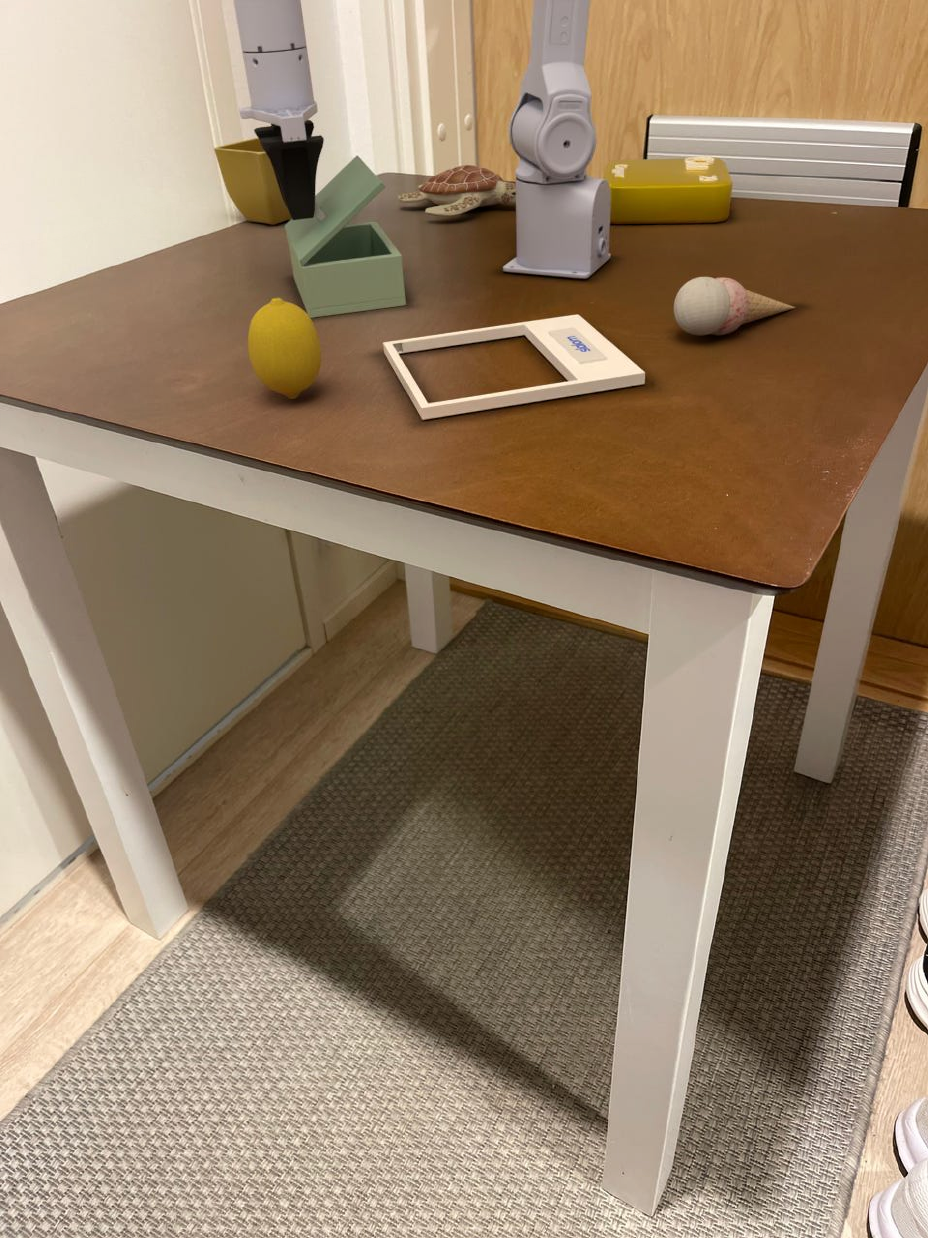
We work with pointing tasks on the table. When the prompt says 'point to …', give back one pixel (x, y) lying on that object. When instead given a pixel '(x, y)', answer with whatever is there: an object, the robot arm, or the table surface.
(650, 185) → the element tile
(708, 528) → the table surface
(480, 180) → the decorative turtle
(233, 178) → the flower pot
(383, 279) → the cool box
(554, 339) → the photo frame
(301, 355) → the lemon
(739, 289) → the ice cream cone
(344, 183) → the cool box lid
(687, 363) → the table surface
